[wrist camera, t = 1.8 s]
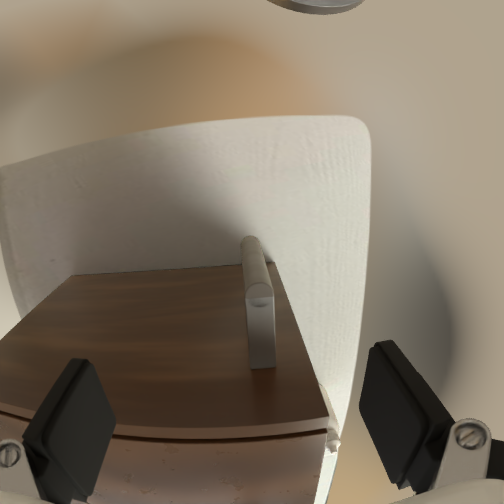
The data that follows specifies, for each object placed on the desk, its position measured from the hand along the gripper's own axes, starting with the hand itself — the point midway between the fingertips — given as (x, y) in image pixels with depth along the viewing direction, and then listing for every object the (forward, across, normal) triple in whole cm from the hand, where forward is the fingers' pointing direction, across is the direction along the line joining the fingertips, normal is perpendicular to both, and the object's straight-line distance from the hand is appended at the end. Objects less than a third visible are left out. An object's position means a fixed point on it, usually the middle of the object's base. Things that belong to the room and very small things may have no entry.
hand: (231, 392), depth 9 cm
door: (+27, +9, +3) cm, 29 cm away
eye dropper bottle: (+27, -10, +27) cm, 40 cm away
